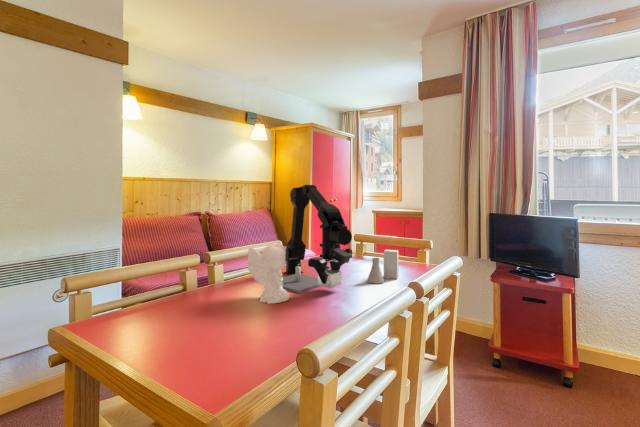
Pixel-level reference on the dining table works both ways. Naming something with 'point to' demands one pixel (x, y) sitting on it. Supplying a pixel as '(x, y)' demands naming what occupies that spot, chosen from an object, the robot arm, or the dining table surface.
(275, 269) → the cherub figurine
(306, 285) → the post plate
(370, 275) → the flask
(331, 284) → the grey hollow square block
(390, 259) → the skincare box
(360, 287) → the dining table surface
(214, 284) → the dining table surface
